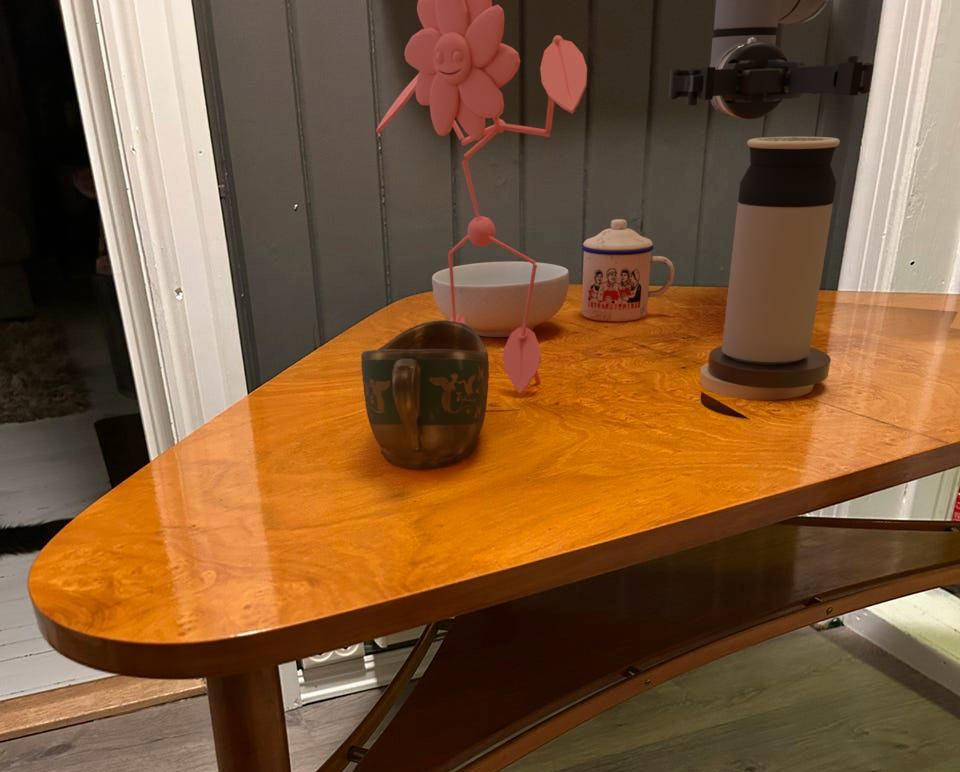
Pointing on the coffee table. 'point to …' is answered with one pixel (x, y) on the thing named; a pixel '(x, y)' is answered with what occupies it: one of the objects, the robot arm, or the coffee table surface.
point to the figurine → (483, 115)
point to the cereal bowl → (501, 295)
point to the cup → (427, 394)
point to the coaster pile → (759, 379)
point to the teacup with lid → (619, 274)
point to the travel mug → (779, 249)
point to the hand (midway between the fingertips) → (782, 81)
